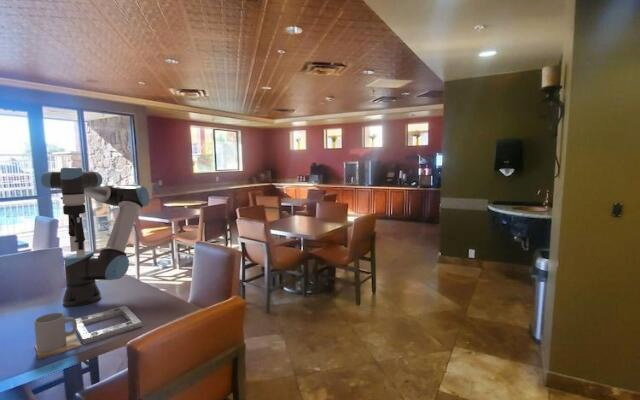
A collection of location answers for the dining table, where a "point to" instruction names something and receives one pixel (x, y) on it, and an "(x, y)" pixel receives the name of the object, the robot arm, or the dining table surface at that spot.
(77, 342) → the coaster
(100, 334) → the grey square frame
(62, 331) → the mug
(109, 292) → the dining table surface
